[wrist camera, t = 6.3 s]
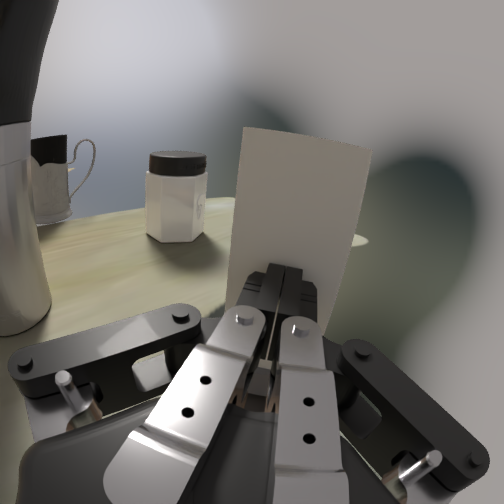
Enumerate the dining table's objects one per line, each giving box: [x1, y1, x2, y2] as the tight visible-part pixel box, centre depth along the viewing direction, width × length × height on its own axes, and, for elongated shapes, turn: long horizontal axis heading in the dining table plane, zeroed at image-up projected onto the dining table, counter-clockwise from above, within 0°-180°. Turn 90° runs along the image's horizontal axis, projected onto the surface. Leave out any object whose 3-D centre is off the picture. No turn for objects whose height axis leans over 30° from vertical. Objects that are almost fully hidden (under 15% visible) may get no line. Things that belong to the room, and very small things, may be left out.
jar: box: [145, 151, 207, 243], centre depth 39 cm, size 9×8×12 cm
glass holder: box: [30, 135, 96, 224], centre depth 42 cm, size 9×14×15 cm, turn 137°
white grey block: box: [225, 127, 372, 396], centre depth 14 cm, size 3×5×14 cm, turn 79°
